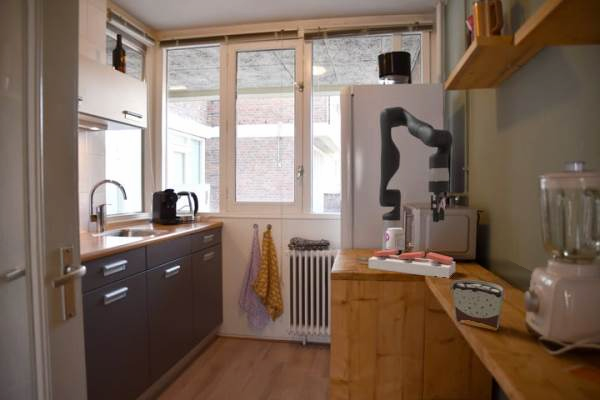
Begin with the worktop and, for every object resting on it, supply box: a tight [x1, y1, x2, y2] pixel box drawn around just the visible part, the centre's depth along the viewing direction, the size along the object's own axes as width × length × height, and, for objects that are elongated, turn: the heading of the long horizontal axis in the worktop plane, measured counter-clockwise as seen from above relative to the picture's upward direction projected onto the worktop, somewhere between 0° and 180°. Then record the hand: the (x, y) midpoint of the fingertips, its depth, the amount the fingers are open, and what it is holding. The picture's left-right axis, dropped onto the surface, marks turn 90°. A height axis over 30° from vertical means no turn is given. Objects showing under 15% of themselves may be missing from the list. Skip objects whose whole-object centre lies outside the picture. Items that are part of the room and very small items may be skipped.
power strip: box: [356, 255, 456, 279], centre depth 145 cm, size 12×40×5 cm, turn 55°
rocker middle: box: [399, 251, 426, 259], centre depth 144 cm, size 6×9×2 cm, turn 55°
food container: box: [449, 279, 506, 329], centre depth 86 cm, size 12×6×10 cm, turn 48°
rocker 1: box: [373, 249, 399, 257], centre depth 150 cm, size 6×9×2 cm, turn 55°
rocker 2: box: [425, 251, 454, 265], centre depth 138 cm, size 6×9×2 cm, turn 55°
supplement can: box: [386, 227, 405, 256], centre depth 163 cm, size 8×8×15 cm
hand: (438, 221), depth 137 cm, fingers open, 8 cm apart
